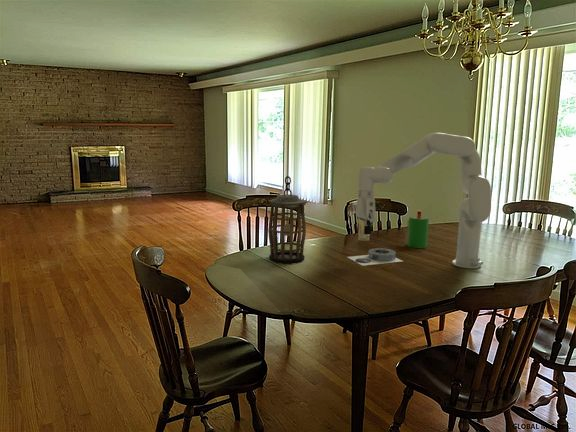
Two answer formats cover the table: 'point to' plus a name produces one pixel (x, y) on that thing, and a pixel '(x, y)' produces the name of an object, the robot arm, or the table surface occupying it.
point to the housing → (382, 254)
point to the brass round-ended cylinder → (362, 231)
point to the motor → (418, 231)
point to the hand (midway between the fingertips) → (364, 232)
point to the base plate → (370, 260)
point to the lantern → (287, 228)
